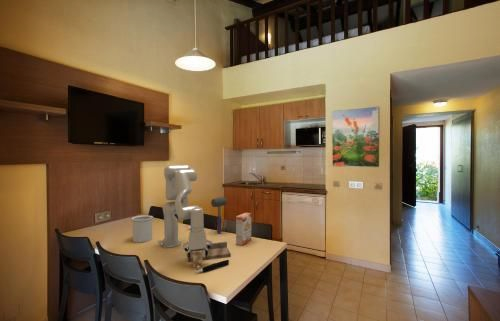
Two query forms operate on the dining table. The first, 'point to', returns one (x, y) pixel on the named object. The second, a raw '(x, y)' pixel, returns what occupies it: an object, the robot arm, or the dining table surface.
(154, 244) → the dining table surface
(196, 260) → the gauge
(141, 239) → the utensil holder
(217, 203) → the rubber mallet
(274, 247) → the dining table surface
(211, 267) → the utility knife
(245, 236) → the cracker box
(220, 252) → the board
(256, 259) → the dining table surface
